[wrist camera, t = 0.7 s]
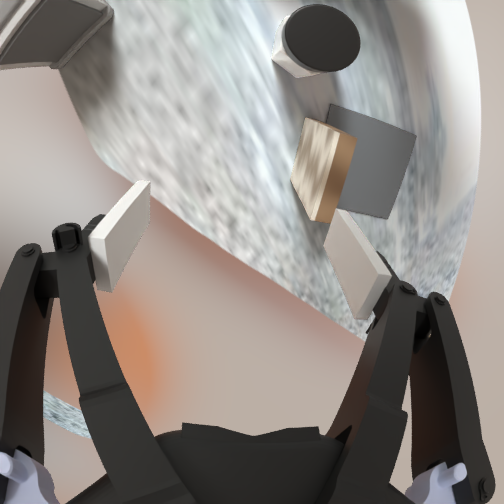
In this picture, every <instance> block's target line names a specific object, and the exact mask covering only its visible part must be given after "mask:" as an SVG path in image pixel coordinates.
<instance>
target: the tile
mask: <svg viewBox="0 0 504 504" xmlns="http://www.w3.org/2000/svg"><path fill="white" fill-rule="evenodd" d="M357 139H358V138H356V137H354V136H352V135H350V134H348V133H346V132H343V131H341V130H339V129H337V128H335V127H333V126H331V125H328V124H326V123H324V122H322V121H318V120H314V119H310V118H306V117H305V120H304V124H303V129H302V133H301V137H300V141H299V145H298V149H297V154H296V158H295V162H294V166H293V170H292V174H291V178H290V180H291V182H292V184H293V186H294V188H295V190H296V192H297V194H298V196H299V198H300V200H301V202H302V204H303V206H304V208H305V210H306V212H307V214H308V216H309V218H310V220H313V221H319V222H324V223H330V224H331V222H332V219H333V216H334V213H335V210H336V208H337V205H338V202H339V198H340V195H341V192H342V189H343V186H344V183H345V180H346V176H347V173H348V170H349V166H350V163H351V160H352V156H353V153H354V149H355V146H356V142H357Z"/></svg>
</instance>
